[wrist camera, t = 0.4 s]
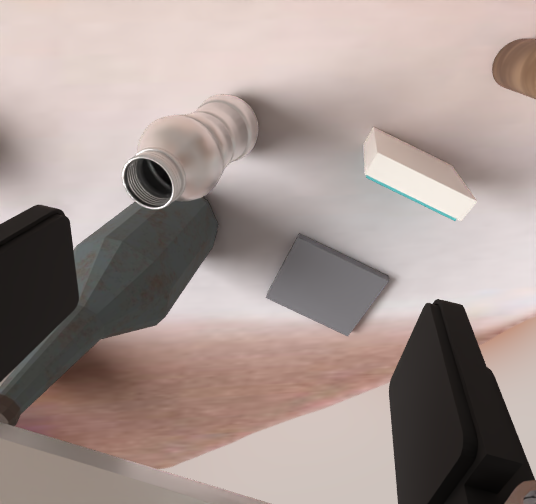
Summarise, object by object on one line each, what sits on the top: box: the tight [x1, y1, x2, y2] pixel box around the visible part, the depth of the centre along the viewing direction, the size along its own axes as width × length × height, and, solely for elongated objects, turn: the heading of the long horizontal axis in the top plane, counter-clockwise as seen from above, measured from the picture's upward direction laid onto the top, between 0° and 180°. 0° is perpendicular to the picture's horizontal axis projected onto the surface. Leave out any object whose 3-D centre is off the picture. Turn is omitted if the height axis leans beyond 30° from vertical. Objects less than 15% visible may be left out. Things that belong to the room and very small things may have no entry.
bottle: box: [0, 197, 218, 426], centre depth 37 cm, size 10×10×30 cm
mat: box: [266, 233, 389, 336], centre depth 49 cm, size 10×12×1 cm
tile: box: [363, 127, 477, 221], centre depth 36 cm, size 2×9×10 cm, turn 67°
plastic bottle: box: [122, 94, 259, 210], centre depth 34 cm, size 6×7×20 cm
